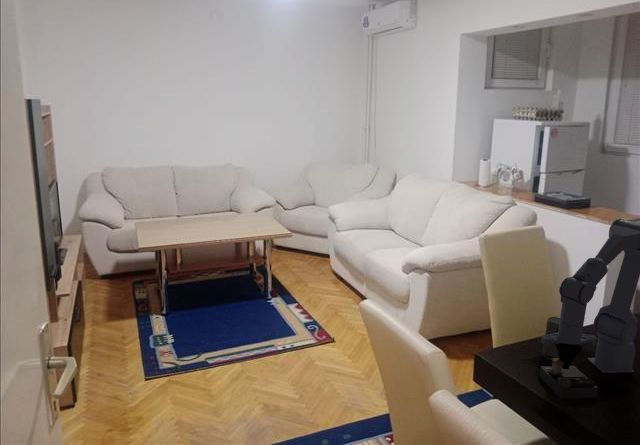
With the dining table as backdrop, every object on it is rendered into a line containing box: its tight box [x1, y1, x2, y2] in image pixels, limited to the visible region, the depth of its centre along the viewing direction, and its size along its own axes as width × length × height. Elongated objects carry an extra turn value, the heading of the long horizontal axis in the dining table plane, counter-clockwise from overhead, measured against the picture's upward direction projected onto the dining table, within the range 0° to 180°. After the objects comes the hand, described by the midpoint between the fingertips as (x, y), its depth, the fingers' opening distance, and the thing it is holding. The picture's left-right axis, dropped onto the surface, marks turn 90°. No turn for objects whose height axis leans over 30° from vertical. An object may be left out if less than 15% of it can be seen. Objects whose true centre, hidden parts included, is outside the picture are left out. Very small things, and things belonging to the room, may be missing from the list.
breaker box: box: [538, 365, 599, 399], centre depth 137 cm, size 10×11×5 cm
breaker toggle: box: [549, 358, 564, 376], centre depth 137 cm, size 2×3×4 cm
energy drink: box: [541, 316, 560, 361], centre depth 152 cm, size 5×5×12 cm
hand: (564, 367), depth 138 cm, fingers closed
